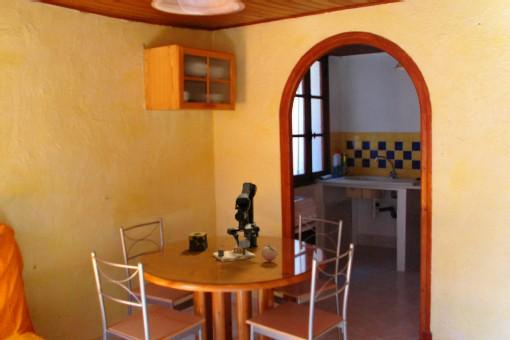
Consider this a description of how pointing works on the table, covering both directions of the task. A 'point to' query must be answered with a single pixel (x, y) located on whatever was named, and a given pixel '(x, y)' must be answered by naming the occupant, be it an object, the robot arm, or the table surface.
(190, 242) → the tissue box
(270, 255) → the decorative fruit
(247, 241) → the gear
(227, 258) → the gear board
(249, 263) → the table surface
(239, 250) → the gear
